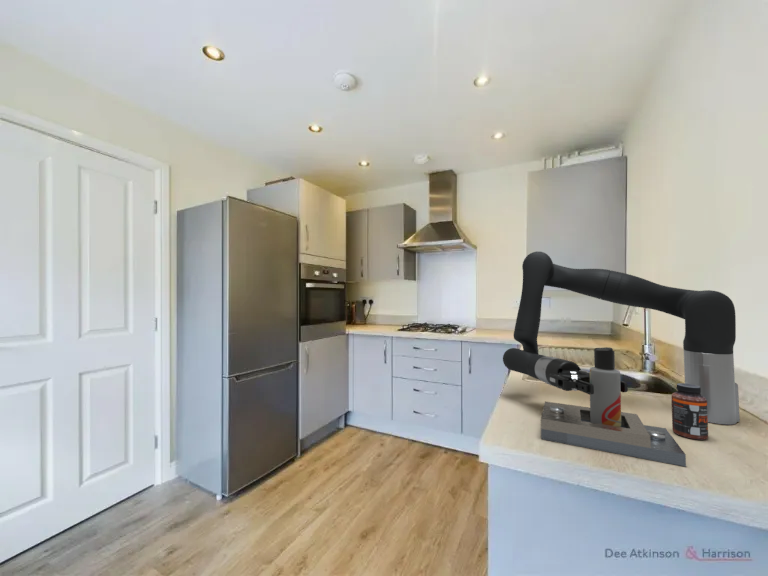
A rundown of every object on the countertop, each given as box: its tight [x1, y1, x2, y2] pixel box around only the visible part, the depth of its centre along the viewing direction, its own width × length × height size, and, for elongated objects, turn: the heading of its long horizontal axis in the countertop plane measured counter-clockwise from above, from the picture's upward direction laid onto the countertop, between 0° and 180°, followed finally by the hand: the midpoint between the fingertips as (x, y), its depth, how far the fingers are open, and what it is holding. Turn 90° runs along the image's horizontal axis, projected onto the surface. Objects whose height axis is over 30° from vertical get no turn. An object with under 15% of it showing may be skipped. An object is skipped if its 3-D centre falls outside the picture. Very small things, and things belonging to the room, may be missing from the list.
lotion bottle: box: [589, 347, 622, 427], centre depth 72 cm, size 6×6×20 cm
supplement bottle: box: [671, 382, 709, 441], centre depth 73 cm, size 6×6×11 cm
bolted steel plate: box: [540, 401, 687, 468], centre depth 71 cm, size 24×14×5 cm, turn 60°
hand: (609, 388), depth 70 cm, fingers open, 8 cm apart
